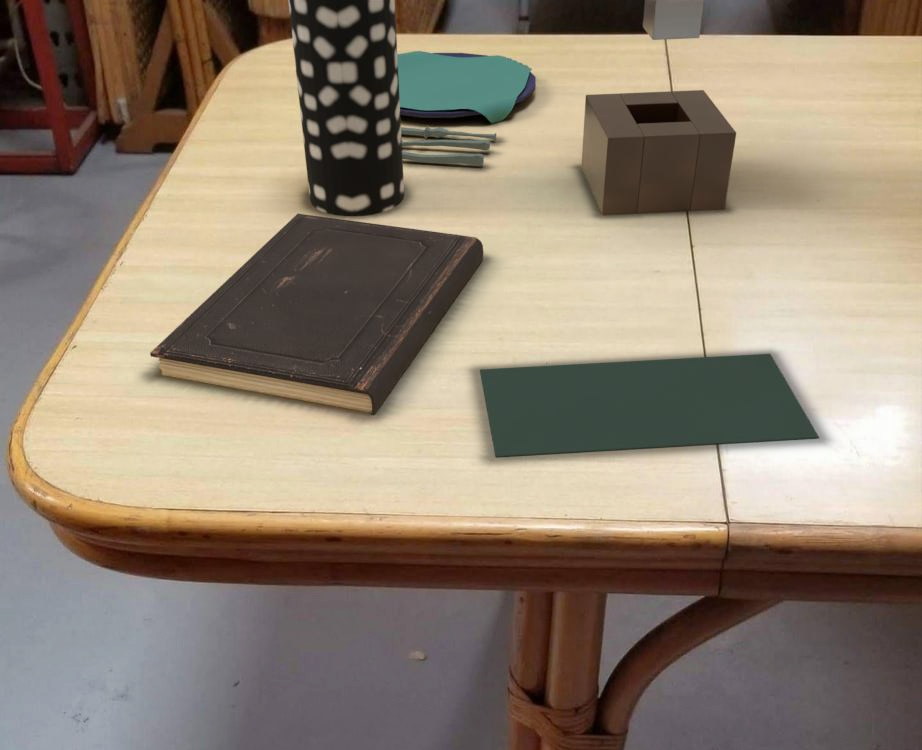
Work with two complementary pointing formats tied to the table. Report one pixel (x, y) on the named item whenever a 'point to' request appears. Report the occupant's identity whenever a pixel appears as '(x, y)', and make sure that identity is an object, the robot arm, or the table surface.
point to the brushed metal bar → (673, 18)
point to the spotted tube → (349, 103)
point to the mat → (641, 405)
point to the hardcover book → (324, 312)
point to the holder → (656, 152)
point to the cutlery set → (458, 96)
